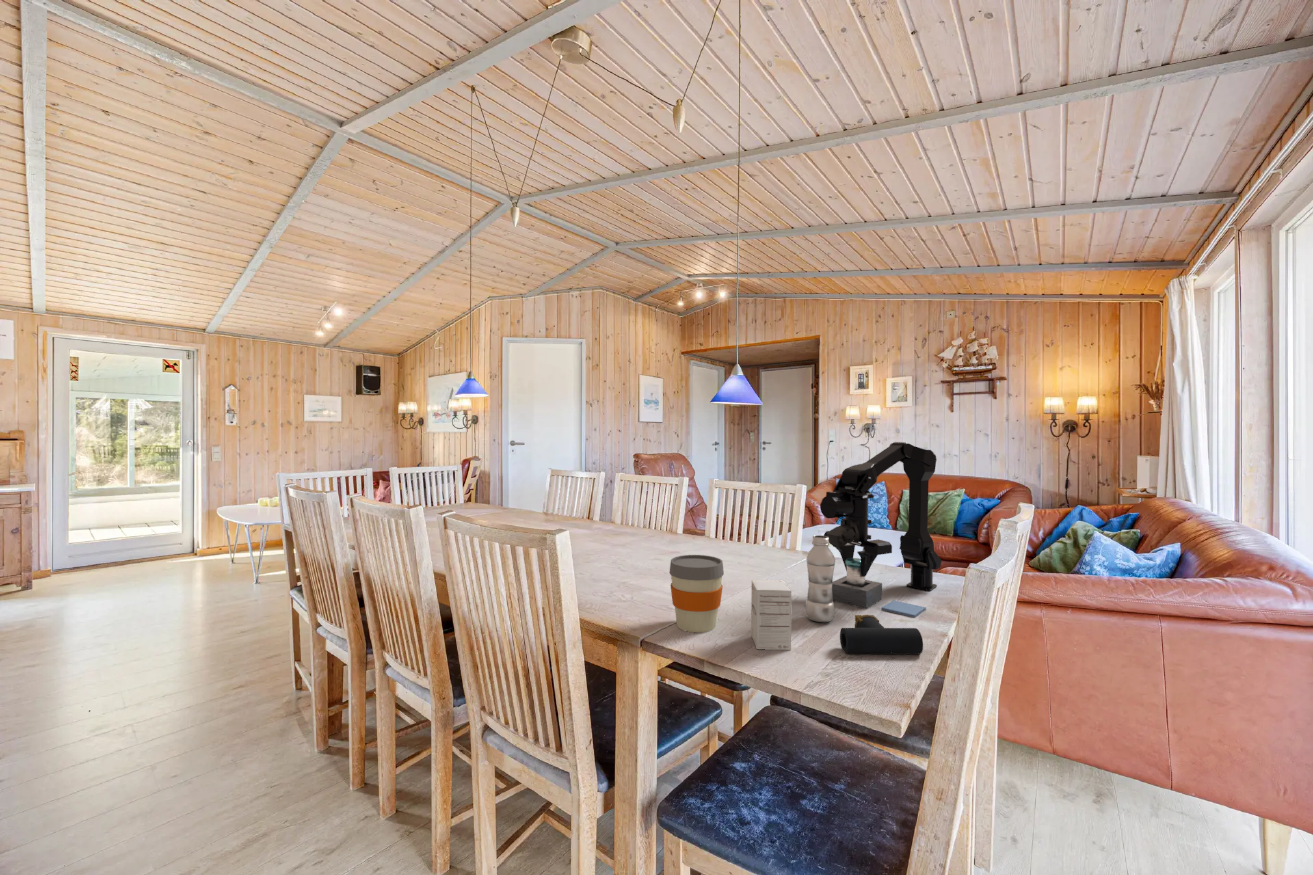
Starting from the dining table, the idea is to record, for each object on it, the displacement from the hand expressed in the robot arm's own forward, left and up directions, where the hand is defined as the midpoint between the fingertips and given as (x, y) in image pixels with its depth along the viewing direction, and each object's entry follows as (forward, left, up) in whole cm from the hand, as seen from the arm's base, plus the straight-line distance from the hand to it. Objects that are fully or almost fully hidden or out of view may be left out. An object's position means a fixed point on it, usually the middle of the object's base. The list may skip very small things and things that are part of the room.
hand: (855, 573), depth 144 cm
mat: (-1, +12, -7) cm, 14 cm away
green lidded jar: (0, 0, -6) cm, 6 cm away
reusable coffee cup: (+44, -19, -7) cm, 48 cm away
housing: (0, 0, -7) cm, 7 cm away
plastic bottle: (+21, 0, -7) cm, 22 cm away
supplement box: (+41, -1, -7) cm, 42 cm away
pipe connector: (+26, +16, -8) cm, 32 cm away
